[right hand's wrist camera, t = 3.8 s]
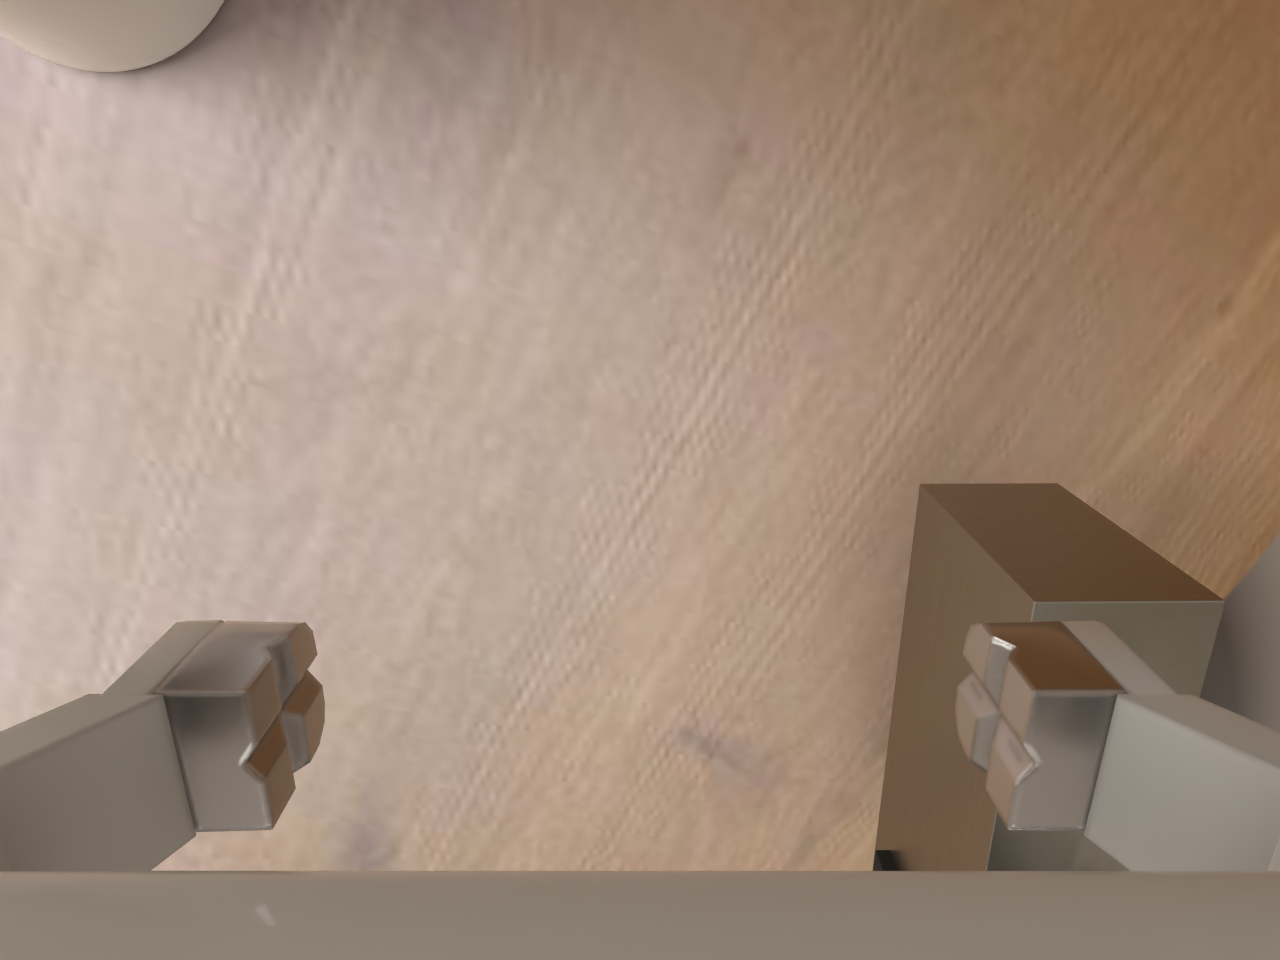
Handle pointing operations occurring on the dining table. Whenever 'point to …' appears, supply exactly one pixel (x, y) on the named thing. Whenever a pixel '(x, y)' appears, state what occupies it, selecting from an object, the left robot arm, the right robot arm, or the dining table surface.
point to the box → (1002, 593)
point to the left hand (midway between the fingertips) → (948, 870)
